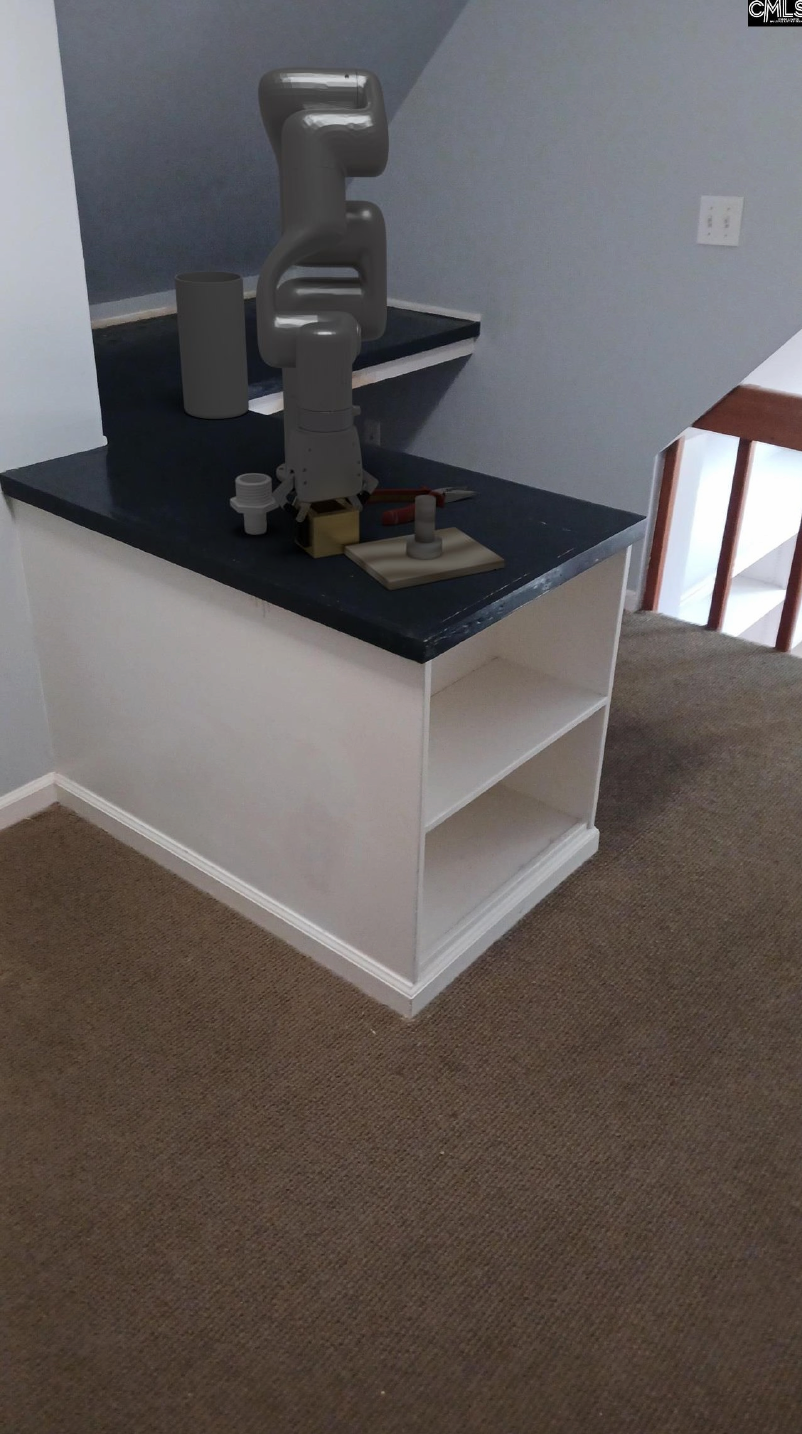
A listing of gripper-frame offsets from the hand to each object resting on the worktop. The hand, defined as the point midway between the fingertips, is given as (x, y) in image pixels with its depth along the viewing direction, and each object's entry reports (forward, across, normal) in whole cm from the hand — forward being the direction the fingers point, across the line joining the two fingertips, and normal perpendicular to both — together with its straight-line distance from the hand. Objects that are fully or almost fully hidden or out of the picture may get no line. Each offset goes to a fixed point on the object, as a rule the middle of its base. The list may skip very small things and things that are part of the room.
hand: (326, 539), depth 168 cm
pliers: (+2, -20, -8) cm, 21 cm away
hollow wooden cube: (+1, 0, 0) cm, 1 cm away
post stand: (+1, -10, +11) cm, 15 cm away
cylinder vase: (+1, -10, -73) cm, 74 cm away
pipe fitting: (+1, +7, -10) cm, 12 cm away
